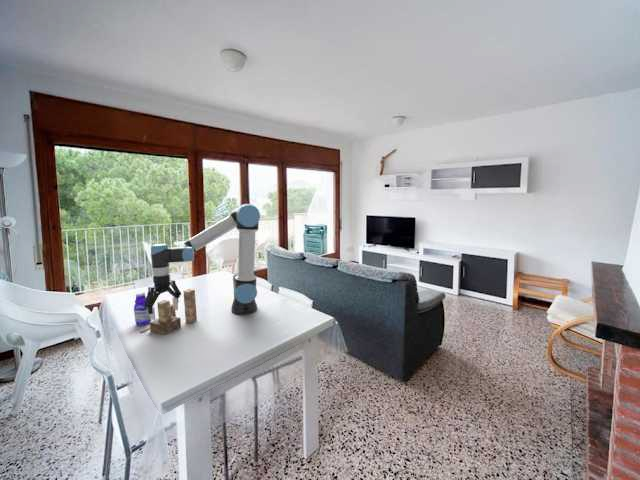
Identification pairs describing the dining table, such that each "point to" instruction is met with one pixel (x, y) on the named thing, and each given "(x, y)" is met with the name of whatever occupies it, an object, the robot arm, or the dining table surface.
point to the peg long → (190, 306)
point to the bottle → (141, 310)
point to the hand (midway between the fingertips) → (164, 314)
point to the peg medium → (164, 311)
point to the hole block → (165, 326)
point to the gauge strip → (145, 330)
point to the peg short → (172, 311)
